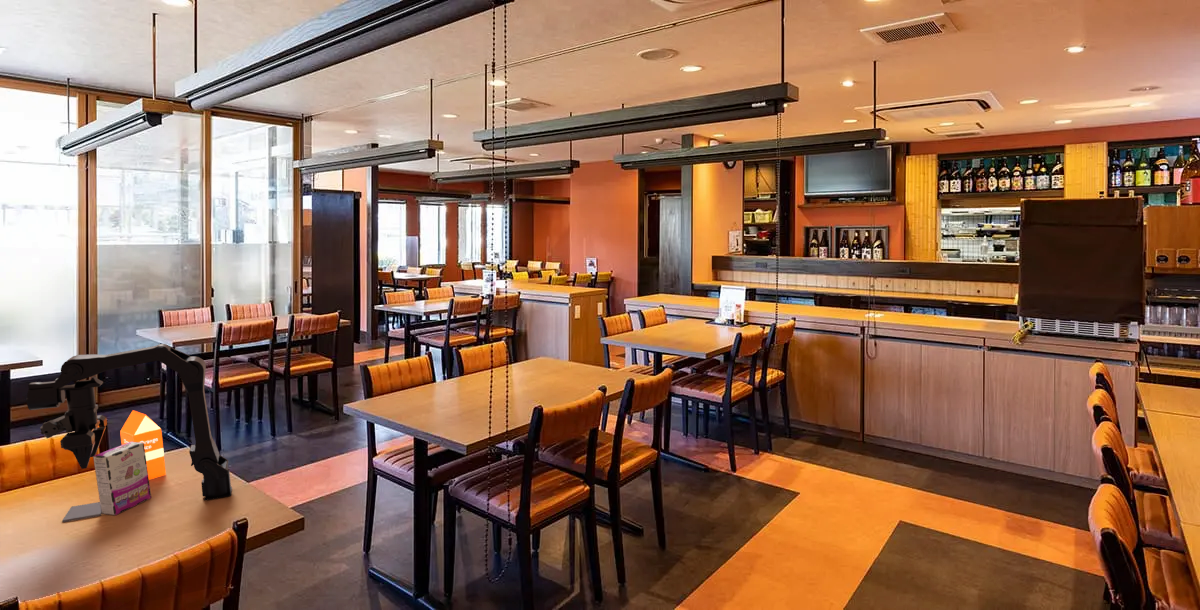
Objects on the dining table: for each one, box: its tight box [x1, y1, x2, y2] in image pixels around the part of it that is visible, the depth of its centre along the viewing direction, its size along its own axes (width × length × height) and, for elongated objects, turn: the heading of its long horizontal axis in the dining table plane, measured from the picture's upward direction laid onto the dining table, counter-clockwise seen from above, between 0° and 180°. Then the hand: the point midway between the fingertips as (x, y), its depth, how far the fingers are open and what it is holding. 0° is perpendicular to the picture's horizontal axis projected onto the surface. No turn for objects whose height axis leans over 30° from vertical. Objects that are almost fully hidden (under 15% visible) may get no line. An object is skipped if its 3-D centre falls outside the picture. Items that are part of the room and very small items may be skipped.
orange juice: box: [119, 409, 167, 481], centre depth 200 cm, size 8×9×20 cm
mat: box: [61, 501, 103, 523], centre depth 177 cm, size 8×9×1 cm
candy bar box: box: [92, 442, 152, 516], centre depth 179 cm, size 11×5×16 cm, turn 167°
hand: (88, 462), depth 173 cm, fingers open, 9 cm apart
